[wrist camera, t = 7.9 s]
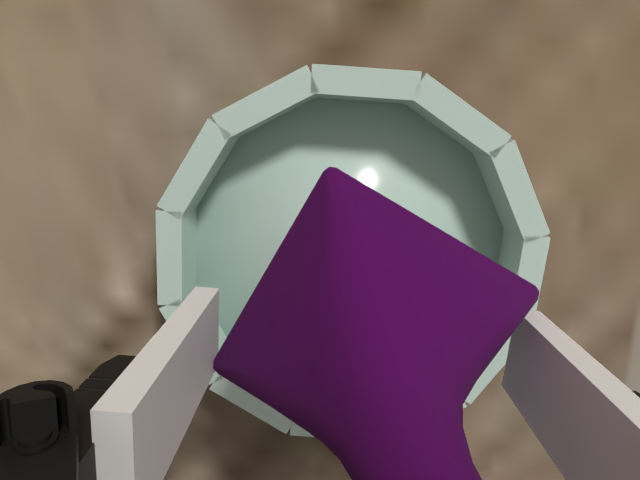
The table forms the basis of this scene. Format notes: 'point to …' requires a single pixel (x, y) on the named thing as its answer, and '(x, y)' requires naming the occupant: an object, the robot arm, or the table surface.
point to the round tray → (355, 160)
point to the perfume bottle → (374, 333)
